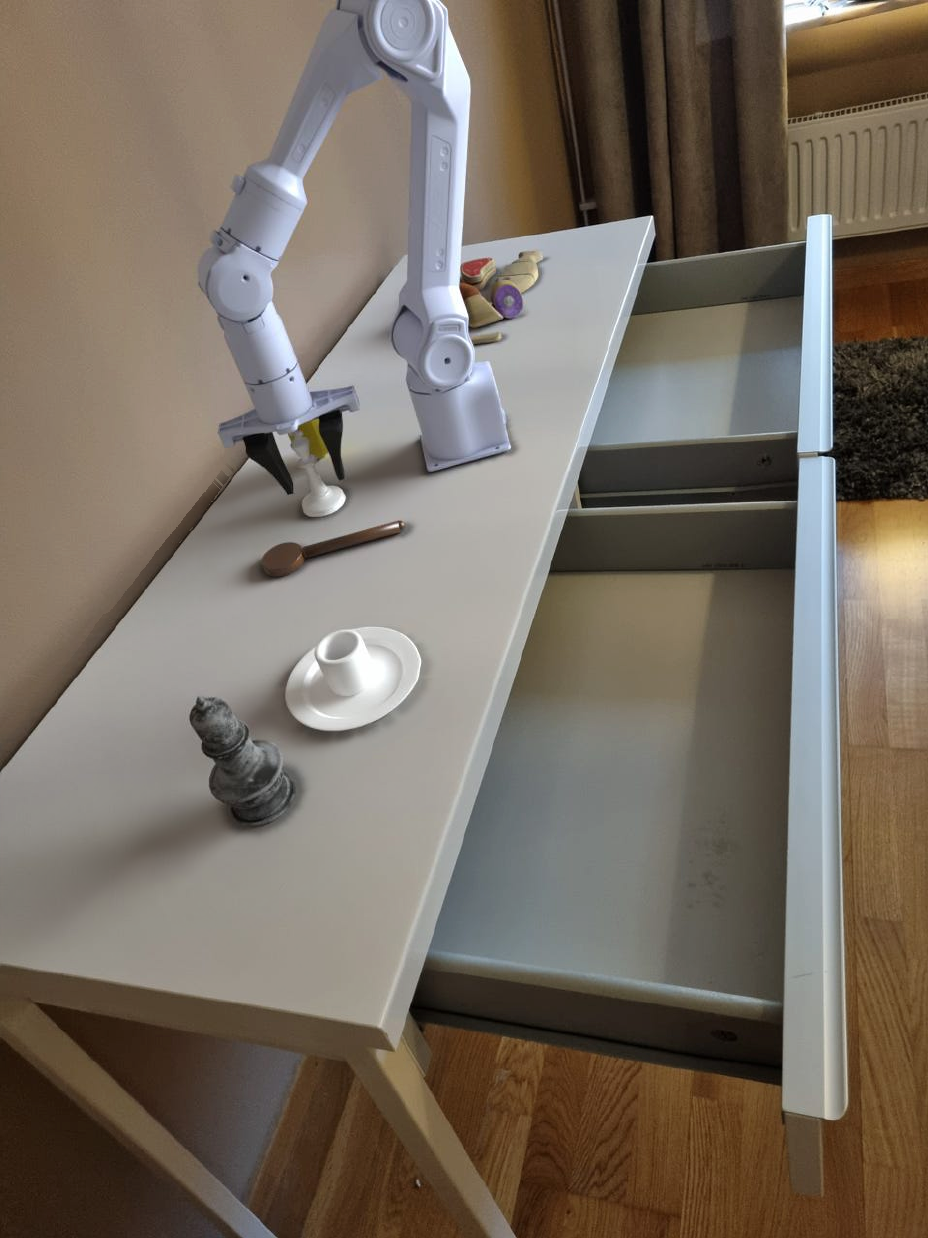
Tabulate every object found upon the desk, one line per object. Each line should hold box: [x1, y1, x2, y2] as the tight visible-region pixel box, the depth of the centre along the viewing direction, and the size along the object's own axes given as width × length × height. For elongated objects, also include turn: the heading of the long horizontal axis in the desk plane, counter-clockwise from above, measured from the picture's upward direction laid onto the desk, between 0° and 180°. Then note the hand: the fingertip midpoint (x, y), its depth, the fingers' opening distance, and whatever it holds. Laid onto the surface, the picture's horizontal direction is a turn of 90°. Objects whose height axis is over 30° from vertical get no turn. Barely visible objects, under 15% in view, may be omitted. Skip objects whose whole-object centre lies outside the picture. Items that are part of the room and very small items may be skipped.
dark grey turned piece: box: [188, 696, 296, 828], centre depth 65 cm, size 6×6×12 cm
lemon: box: [287, 419, 329, 459], centre depth 103 cm, size 6×6×8 cm
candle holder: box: [284, 626, 422, 732], centre depth 75 cm, size 12×12×4 cm
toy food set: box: [459, 250, 544, 345], centre depth 127 cm, size 26×16×4 cm, turn 168°
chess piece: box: [287, 430, 347, 518], centre depth 95 cm, size 5×5×10 cm
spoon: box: [261, 519, 406, 578], centre depth 91 cm, size 15×4×1 cm, turn 98°
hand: (316, 482), depth 96 cm, fingers open, 5 cm apart
